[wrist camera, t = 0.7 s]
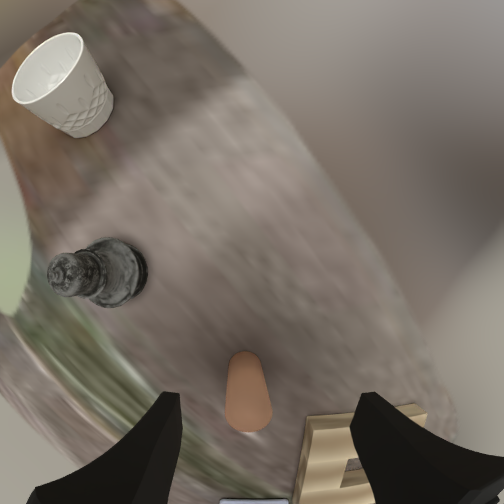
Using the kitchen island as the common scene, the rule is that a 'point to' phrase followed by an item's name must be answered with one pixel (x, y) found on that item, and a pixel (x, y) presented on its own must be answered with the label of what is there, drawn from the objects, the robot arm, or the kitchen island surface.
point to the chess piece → (100, 273)
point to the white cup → (64, 86)
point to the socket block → (335, 461)
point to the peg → (247, 394)
